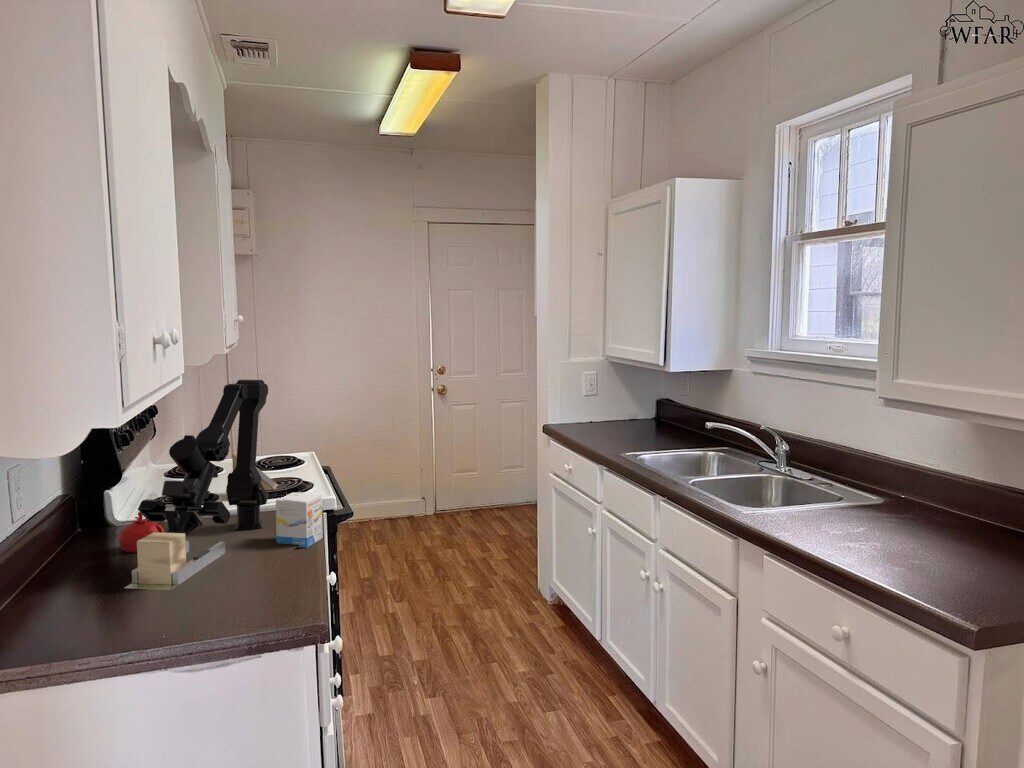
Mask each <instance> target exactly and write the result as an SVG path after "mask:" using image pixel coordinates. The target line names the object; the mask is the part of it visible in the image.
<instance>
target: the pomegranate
mask: <svg viewBox="0 0 1024 768" xmlns="http://www.w3.org/2000/svg"><path fill="white" fill-rule="evenodd" d="M137 515H138V516H134V519H136V520H126V521H123V522H121V523H122V524H125V523H128V522H129V523H130V524H127V525H126V526H125V527H123V529H121V531H120V532H119V537H118V542H119V544H120V548H121V550H122V551H123V552H127V553H134V554H135V553H137V541H138V540H140V539H142V538H144V537H146V536H148V535H150V534H152V533H154V532H157V533H165V530H164V528H163V526H162V525H161V524H158V523H159V522H151V521H148V520H147V519H146V518H144V517H143V515H142V513H141V512H140V511H138V512H137ZM143 518H144V519H143Z"/></svg>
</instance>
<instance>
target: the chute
mask: <svg viewBox="0 0 1024 768" xmlns="http://www.w3.org/2000/svg"><path fill="white" fill-rule="evenodd" d="M185 542H186V554H189V552H190V541H189V540H186V539H185ZM224 554H226V542H225V541H219V542H218V543H215V544H214V545H213V546H211V547H210V548H208V549H203V550H202V551H200V552H199V553H197V554H196V555H194V556H193V557H192V559H190V560H189V561H188V562H186V564H184V565H183V566H181V567H180V568H178V569H177V570H175V571H174V572H172V575H173V584H171V585H165V584H139V579H138V566H137V567H135V568H134V569H132V570H131V583H130V584H128V585H127V586H125V587H124V589H130V590H133V589H135V590H152V591H153V590H157V591H158V590H159V591H172V590H173V589H175V588H176V587H178V586H179V585H181V584H182V583H183V582H185V581H186V580H188V579H190V577H192V576H194V575H196V573H198V572H199V571H201V570H202V569H204V568H206V566H208V565H209V564H211V563H213V562H214V561H216V560H217V559H219V558H220V557H221V556H223V555H224Z"/></svg>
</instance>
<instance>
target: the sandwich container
mask: <svg viewBox="0 0 1024 768" xmlns="http://www.w3.org/2000/svg"><path fill="white" fill-rule="evenodd" d="M231 457H232V458H231V459H232V471H233V470H234V469H235V467H236V460H237V448H234V450H233V452H232V456H231ZM256 469H257V470H258V472H259V474H260V476H261V484H262V486H263V487H264V489H265V490H271V489H276V487H277V486H278V485H279V484H278V485H277V482H276V481H274V480H273V479H272V478H271V477H269V476H268V475H267V474H266V473H265V472H263V471H262V470H261V469H260V468H259V467H257V466H256Z"/></svg>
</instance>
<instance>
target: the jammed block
mask: <svg viewBox="0 0 1024 768" xmlns="http://www.w3.org/2000/svg"><path fill="white" fill-rule="evenodd" d="M185 540H186V537H185V533H168V532H164V533H157V532H154V533H152V534H150V535H148V536H146V537H144V538H142V539H140V540H138V541H137V552H136V553H137V556H136V557H137V567H138V579H139V583H138V584H152V585H173V575H172V572H174V571H175V570H177V569H178V568H180V567H181V566H183V565H184V564H186V563H187V553H186V542H185Z"/></svg>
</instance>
